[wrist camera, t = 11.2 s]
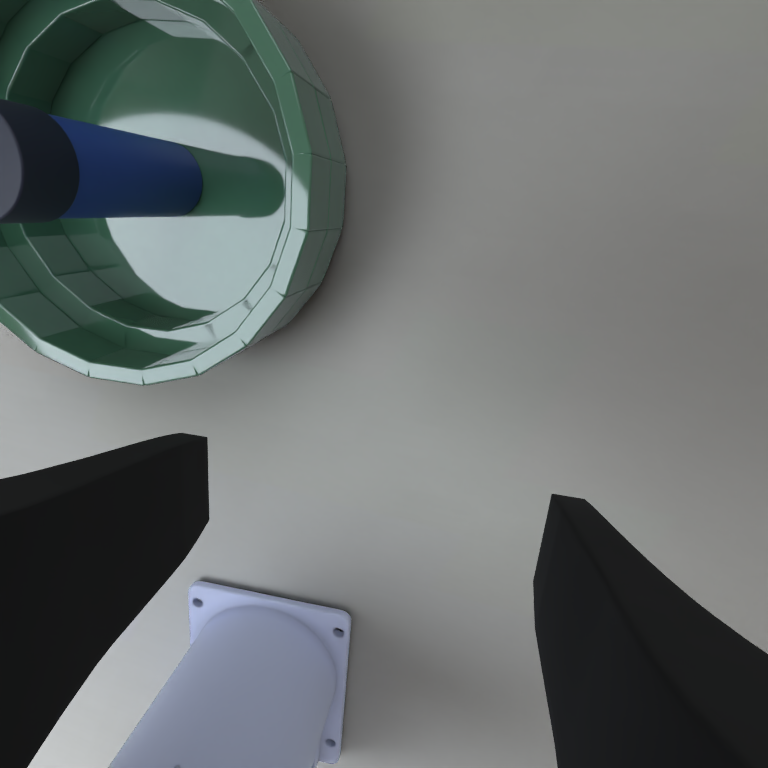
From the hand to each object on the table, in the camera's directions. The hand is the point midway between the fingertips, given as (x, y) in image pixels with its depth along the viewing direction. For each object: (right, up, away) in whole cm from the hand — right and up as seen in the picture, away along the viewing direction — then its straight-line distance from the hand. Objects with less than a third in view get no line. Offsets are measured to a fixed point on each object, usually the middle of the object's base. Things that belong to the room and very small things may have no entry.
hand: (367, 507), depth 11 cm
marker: (-7, +10, +9) cm, 15 cm away
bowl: (-7, +10, +9) cm, 16 cm away
